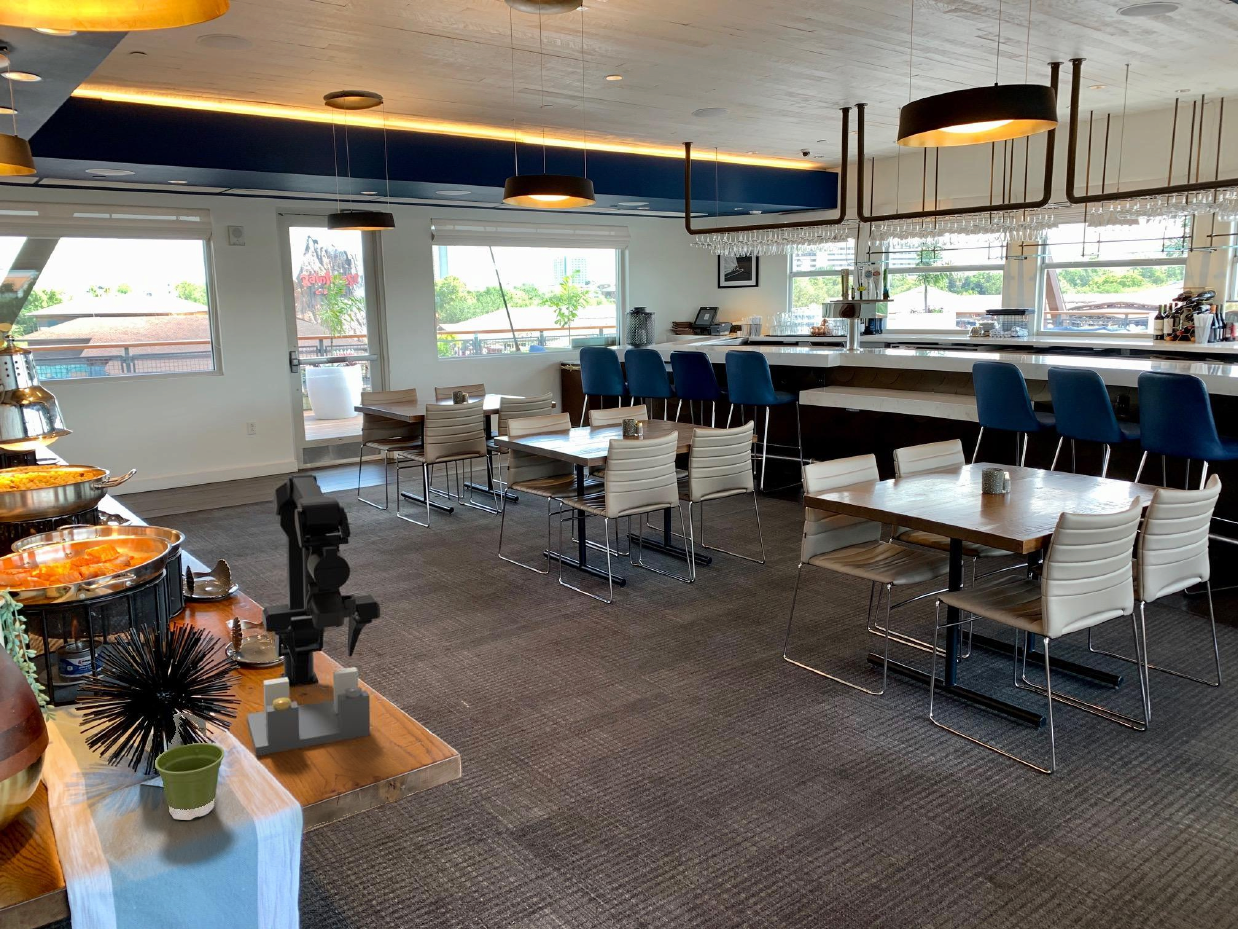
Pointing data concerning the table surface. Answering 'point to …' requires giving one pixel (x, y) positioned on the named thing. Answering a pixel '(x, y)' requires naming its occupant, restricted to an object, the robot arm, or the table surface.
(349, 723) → the grey holder stand
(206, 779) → the plant pot
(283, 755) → the table surface
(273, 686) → the tall white block
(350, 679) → the cream upright block
